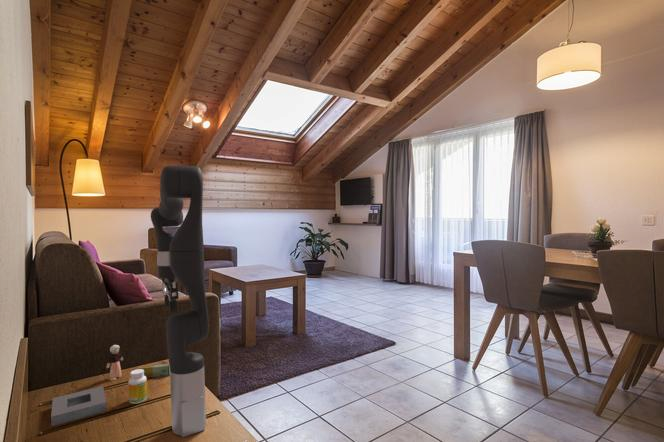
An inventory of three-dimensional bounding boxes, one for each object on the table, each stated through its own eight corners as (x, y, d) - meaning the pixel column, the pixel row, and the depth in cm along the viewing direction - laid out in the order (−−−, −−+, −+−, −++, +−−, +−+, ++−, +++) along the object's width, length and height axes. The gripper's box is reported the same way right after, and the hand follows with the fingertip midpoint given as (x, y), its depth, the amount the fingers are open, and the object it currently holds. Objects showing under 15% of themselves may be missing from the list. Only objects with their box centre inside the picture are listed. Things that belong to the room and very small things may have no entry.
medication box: (172, 373, 148) (171, 363, 148) (169, 376, 145) (169, 365, 145) (139, 375, 146) (139, 365, 146) (136, 378, 144) (136, 368, 144)
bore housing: (106, 411, 120) (106, 402, 120) (51, 426, 112) (51, 416, 112) (103, 394, 131) (103, 386, 131) (53, 407, 123) (52, 398, 123)
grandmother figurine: (115, 382, 141) (114, 348, 140) (105, 382, 141) (103, 348, 141) (126, 373, 148) (125, 341, 148) (117, 373, 149) (115, 341, 148)
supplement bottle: (139, 404, 123) (138, 375, 123) (125, 403, 124) (124, 374, 124) (150, 396, 129) (149, 368, 128) (137, 395, 130) (135, 367, 129)
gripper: (153, 262, 138) (155, 306, 139) (161, 266, 126) (163, 314, 127) (175, 260, 142) (177, 303, 143) (185, 264, 131) (186, 311, 131)
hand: (170, 308), depth 135 cm, fingers open, 8 cm apart
